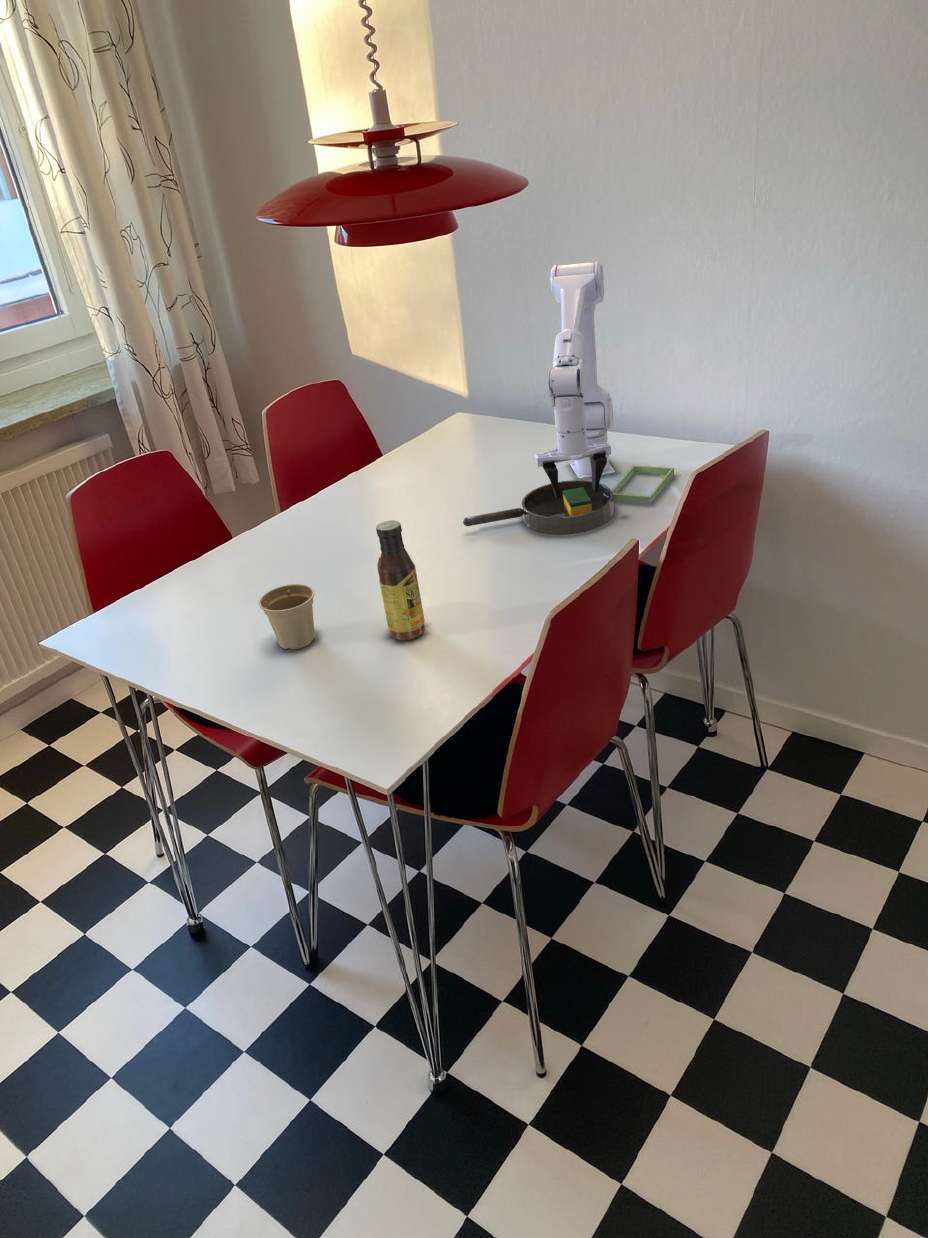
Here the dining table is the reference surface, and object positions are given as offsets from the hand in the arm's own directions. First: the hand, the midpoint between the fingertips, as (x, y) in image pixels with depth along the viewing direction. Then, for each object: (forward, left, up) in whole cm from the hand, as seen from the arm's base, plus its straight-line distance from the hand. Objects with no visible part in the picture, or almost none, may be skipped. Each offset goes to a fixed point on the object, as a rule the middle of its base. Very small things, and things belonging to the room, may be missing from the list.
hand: (576, 493), depth 195 cm
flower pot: (+30, -56, -5) cm, 64 cm away
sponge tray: (-7, +15, -5) cm, 17 cm away
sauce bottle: (+34, -37, -5) cm, 50 cm away
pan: (0, -2, -5) cm, 5 cm away
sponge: (0, 0, -4) cm, 4 cm away
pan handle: (0, -17, -3) cm, 17 cm away
